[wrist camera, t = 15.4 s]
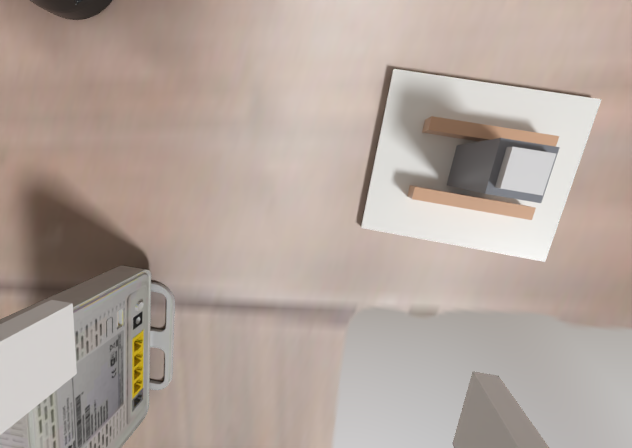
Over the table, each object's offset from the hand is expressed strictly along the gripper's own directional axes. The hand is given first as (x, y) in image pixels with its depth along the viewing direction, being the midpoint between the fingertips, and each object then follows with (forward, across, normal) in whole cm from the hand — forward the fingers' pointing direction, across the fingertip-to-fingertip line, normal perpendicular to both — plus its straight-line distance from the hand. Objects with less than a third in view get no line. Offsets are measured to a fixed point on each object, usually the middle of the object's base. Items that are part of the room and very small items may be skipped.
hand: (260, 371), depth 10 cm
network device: (+33, -26, -24) cm, 48 cm away
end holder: (+32, +18, +8) cm, 38 cm away
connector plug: (+31, +18, +8) cm, 37 cm away
